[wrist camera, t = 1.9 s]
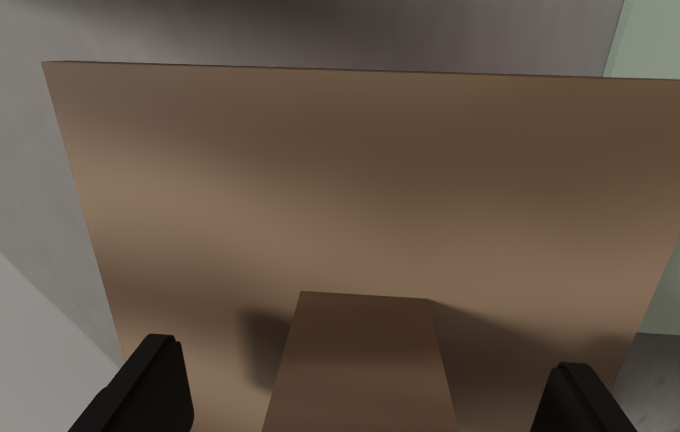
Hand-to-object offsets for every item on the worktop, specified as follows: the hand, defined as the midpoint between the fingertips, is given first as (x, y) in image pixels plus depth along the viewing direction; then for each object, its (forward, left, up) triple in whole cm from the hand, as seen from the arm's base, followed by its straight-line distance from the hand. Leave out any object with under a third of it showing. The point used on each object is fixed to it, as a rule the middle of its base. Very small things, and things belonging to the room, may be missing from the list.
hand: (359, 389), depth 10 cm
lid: (0, 0, -3) cm, 3 cm away
